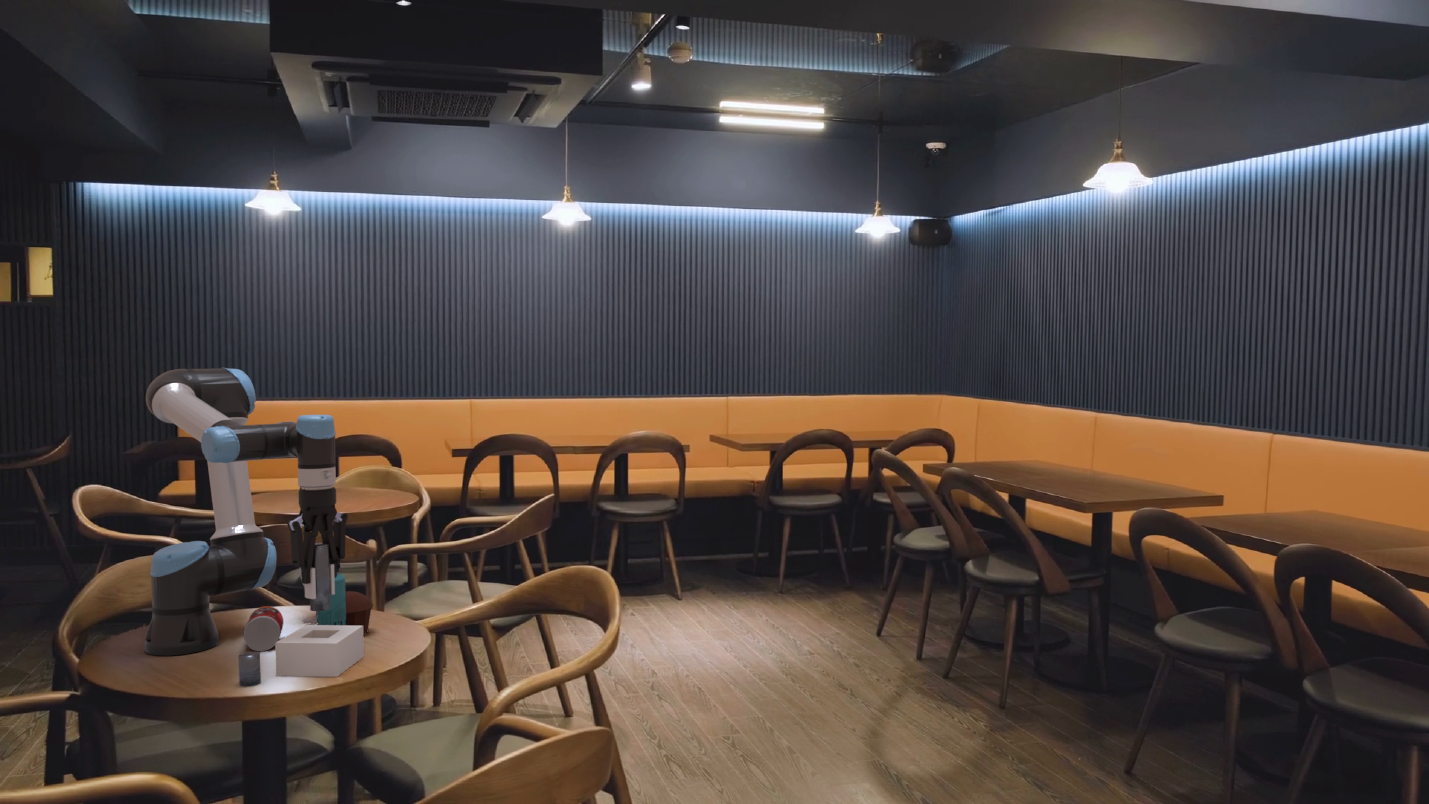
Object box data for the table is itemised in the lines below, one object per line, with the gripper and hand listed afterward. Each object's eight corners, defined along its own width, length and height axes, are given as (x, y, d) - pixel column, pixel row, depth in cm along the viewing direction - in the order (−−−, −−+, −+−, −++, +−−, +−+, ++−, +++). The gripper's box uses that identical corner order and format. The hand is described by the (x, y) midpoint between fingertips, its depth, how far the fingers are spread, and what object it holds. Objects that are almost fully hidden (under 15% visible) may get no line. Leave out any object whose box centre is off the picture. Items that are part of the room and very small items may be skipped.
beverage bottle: (334, 650, 232) (332, 562, 231) (310, 647, 235) (309, 560, 234) (353, 642, 239) (352, 557, 238) (330, 639, 241) (329, 555, 240)
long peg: (307, 611, 218) (305, 545, 217) (315, 606, 222) (313, 542, 221) (325, 611, 218) (323, 545, 217) (333, 606, 222) (332, 542, 221)
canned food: (280, 601, 243) (276, 612, 232) (286, 634, 243) (283, 646, 233) (245, 609, 240) (239, 621, 230) (252, 642, 241) (247, 655, 231)
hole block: (276, 675, 214) (275, 642, 214) (306, 656, 228) (305, 625, 228) (337, 676, 213) (336, 643, 213) (363, 656, 227) (363, 625, 227)
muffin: (314, 641, 240) (313, 598, 240) (331, 628, 251) (330, 587, 251) (366, 640, 240) (365, 598, 240) (380, 627, 252) (379, 587, 251)
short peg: (235, 686, 207) (234, 657, 207) (245, 680, 211) (244, 651, 211) (254, 686, 207) (253, 657, 207) (264, 680, 211) (263, 651, 211)
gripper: (292, 493, 210) (295, 606, 211) (362, 484, 224) (364, 590, 225) (270, 490, 214) (273, 601, 215) (340, 481, 228) (342, 586, 229)
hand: (319, 595), depth 220 cm, fingers closed on long peg, 4 cm apart
